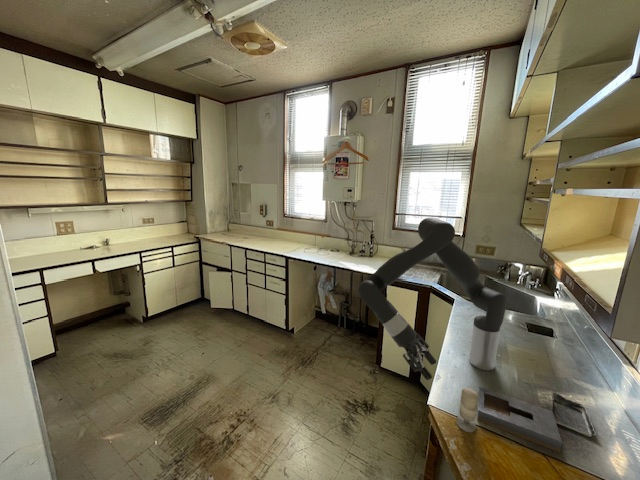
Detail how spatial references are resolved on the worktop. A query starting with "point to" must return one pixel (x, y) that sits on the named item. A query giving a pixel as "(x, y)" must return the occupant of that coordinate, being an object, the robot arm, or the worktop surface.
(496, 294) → the robot arm
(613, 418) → the worktop surface
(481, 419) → the keyhole board
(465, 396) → the keyhole peg
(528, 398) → the worktop surface
